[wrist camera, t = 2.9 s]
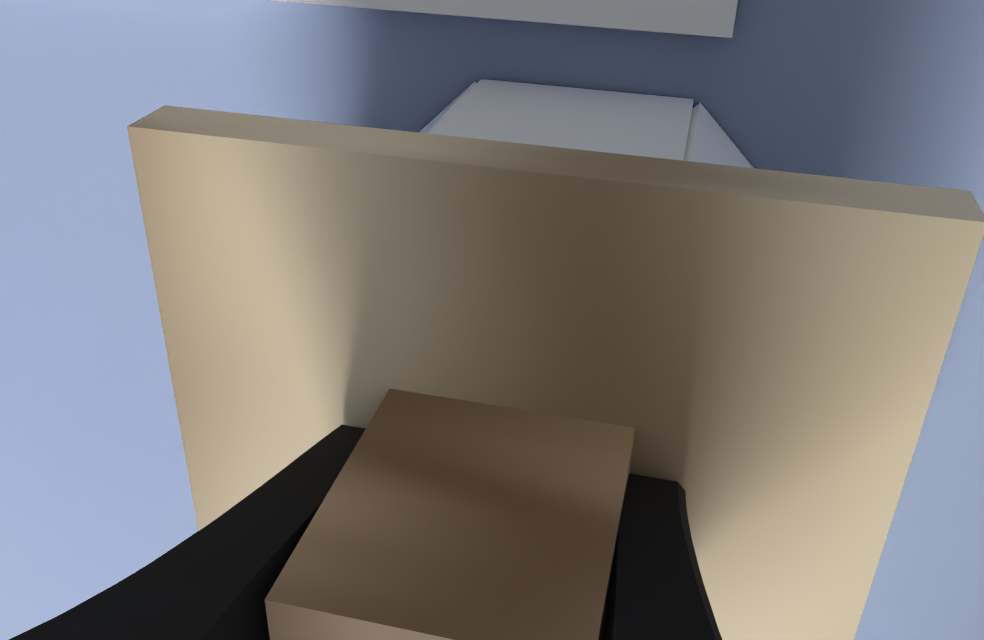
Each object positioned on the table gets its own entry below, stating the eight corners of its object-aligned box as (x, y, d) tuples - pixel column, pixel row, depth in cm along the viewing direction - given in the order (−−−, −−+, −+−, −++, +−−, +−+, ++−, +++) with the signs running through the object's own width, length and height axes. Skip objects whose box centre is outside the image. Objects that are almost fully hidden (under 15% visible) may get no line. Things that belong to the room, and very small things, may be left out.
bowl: (356, 464, 19) (270, 615, 15) (332, 65, 15) (208, 150, 11) (767, 537, 17) (771, 722, 14) (866, 114, 13) (906, 230, 10)
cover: (245, 630, 16) (93, 885, 12) (165, 105, 11) (-117, 261, 8) (800, 751, 14) (817, 1089, 10) (970, 191, 9) (1107, 444, 6)
